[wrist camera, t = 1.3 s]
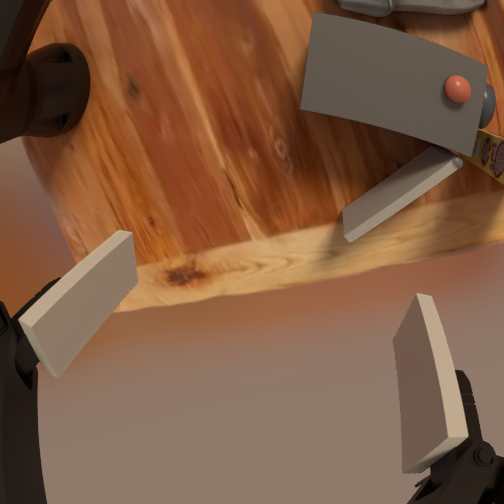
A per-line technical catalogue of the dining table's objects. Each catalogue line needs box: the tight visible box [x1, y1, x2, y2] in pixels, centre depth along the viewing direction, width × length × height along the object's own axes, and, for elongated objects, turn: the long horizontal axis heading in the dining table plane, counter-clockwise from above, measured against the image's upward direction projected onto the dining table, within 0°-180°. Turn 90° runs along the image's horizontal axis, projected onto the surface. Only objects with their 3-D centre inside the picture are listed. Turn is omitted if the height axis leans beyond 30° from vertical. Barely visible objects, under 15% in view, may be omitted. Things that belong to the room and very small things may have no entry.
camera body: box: [300, 12, 496, 157], centre depth 23 cm, size 18×9×9 cm, turn 84°
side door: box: [342, 143, 463, 243], centre depth 28 cm, size 14×2×7 cm, turn 134°
